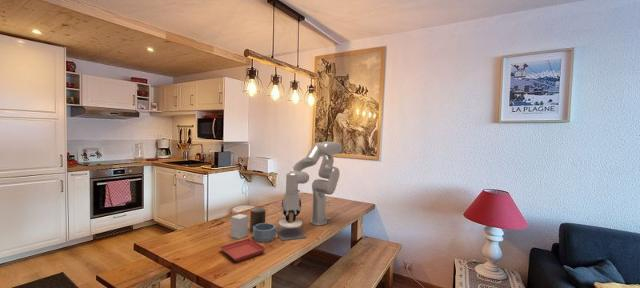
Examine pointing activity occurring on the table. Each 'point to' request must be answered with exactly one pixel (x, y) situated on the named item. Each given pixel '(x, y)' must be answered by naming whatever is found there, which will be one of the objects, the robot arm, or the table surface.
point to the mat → (290, 233)
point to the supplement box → (239, 226)
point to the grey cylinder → (257, 217)
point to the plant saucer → (242, 249)
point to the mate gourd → (292, 210)
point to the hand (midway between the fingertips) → (290, 220)
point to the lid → (290, 222)
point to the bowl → (264, 232)
